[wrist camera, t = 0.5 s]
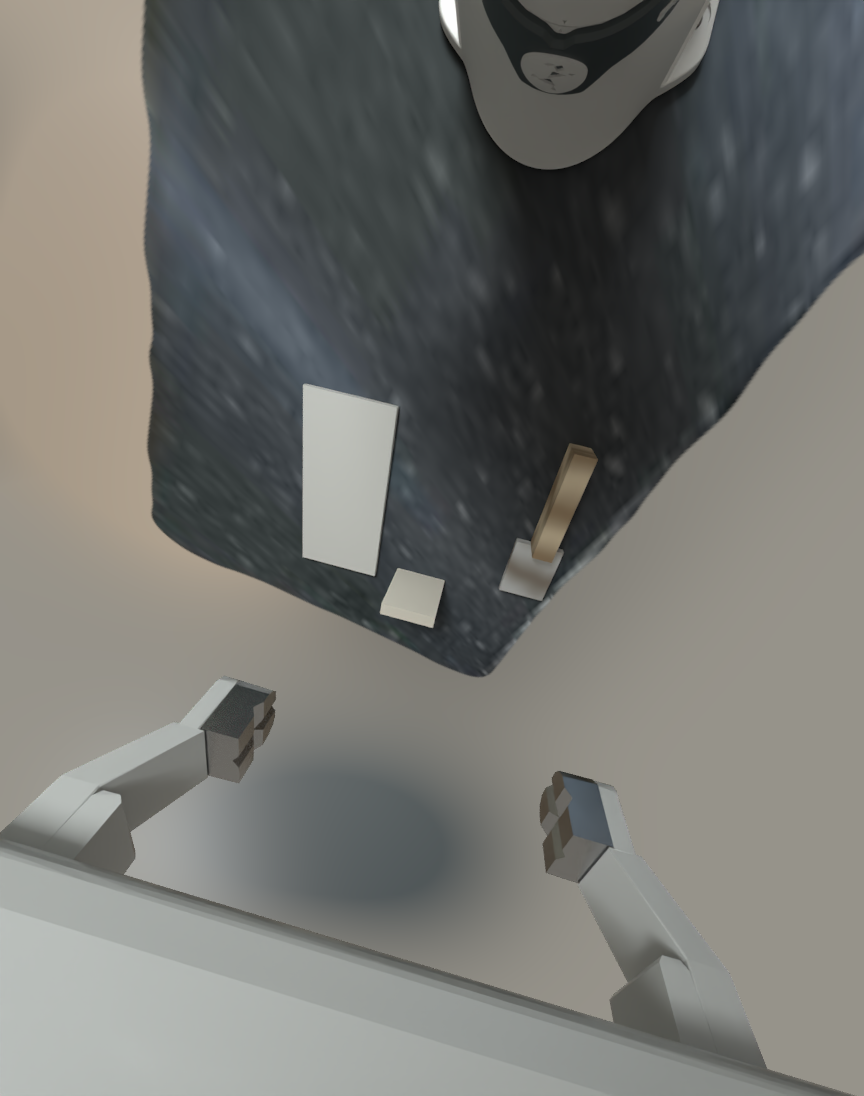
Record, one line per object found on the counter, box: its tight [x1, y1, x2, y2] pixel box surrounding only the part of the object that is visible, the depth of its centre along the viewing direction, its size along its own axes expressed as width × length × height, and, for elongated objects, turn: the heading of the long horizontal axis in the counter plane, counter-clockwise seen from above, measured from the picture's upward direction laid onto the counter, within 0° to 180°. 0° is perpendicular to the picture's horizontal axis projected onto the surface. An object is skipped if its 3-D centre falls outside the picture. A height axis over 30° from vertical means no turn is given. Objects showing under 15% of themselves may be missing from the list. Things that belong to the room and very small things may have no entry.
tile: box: [380, 568, 445, 628], centre depth 52 cm, size 2×7×8 cm, turn 79°
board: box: [303, 384, 399, 576], centre depth 49 cm, size 24×11×1 cm, turn 169°
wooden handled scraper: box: [499, 443, 598, 601], centre depth 45 cm, size 21×6×4 cm, turn 169°
